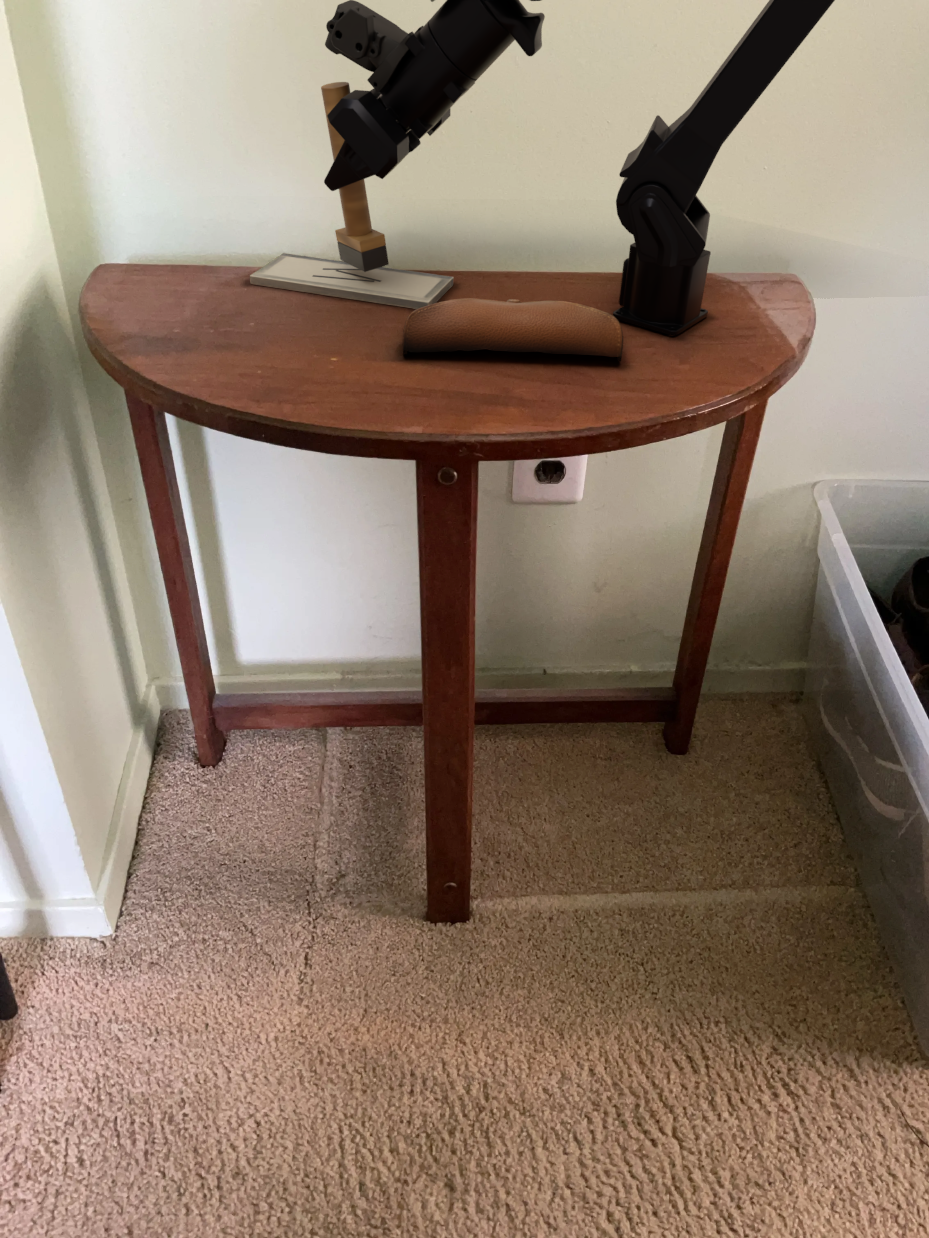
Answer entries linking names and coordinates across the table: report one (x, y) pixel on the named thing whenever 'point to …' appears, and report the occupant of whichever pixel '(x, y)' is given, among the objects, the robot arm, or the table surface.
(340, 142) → the tan piece
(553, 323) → the sunglasses case
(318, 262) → the board
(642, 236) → the robot arm
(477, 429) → the table surface
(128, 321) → the table surface
